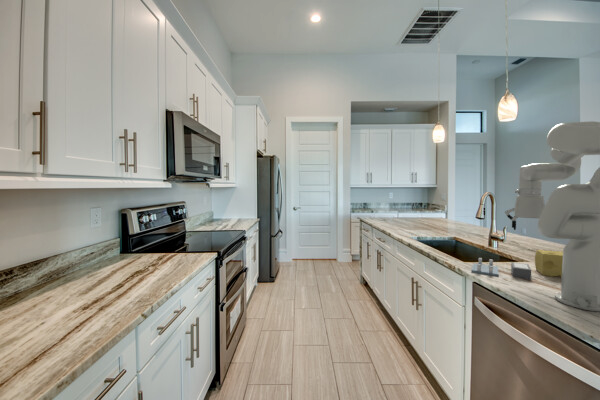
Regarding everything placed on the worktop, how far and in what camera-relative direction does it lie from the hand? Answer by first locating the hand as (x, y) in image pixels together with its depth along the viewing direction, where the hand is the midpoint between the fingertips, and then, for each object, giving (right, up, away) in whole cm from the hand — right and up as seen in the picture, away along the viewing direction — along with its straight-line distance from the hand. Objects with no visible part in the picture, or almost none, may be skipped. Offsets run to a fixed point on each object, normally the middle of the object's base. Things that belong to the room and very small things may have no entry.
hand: (528, 230), depth 117 cm
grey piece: (-15, -20, +7) cm, 26 cm away
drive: (-4, -21, 0) cm, 21 cm away
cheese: (+12, -20, +1) cm, 24 cm away
